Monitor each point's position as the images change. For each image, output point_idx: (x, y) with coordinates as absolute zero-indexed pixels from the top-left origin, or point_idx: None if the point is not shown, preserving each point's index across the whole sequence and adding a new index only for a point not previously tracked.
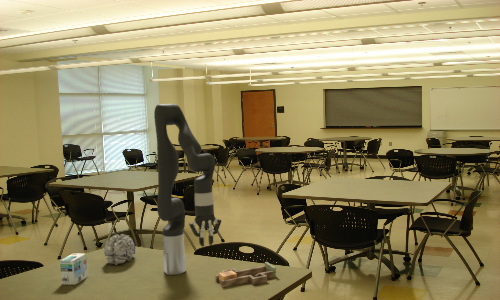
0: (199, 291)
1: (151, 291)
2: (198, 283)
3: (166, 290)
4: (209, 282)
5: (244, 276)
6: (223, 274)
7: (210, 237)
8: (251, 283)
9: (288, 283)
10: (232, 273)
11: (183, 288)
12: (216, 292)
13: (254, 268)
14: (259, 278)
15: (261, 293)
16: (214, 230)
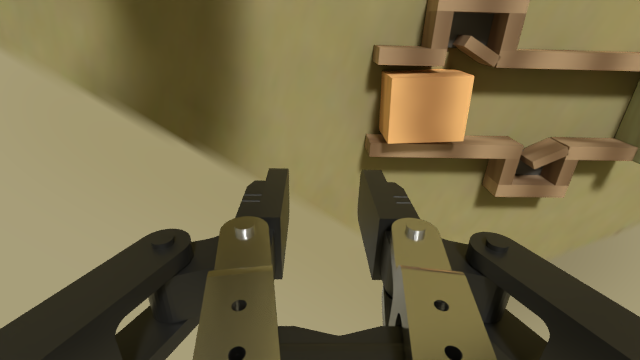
0: (259, 136)
1: (23, 4)
2: (283, 29)
3: (107, 36)
4: (338, 48)
5: (486, 151)
6: (403, 114)
7: (374, 270)
8: (486, 169)
9: (590, 234)
10: (448, 126)
11: (195, 58)
12: (320, 181)
13: (607, 67)
14: (524, 195)
15: None
16: (484, 304)
